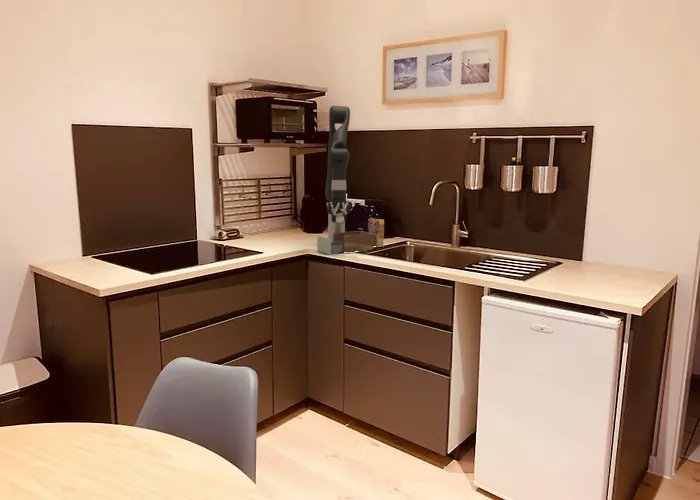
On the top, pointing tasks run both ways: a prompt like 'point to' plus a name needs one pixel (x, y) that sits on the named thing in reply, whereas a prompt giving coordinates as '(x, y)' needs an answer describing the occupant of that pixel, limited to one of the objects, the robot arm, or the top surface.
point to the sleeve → (354, 240)
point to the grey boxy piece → (329, 245)
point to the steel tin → (339, 219)
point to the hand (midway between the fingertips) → (338, 222)
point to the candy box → (376, 231)
